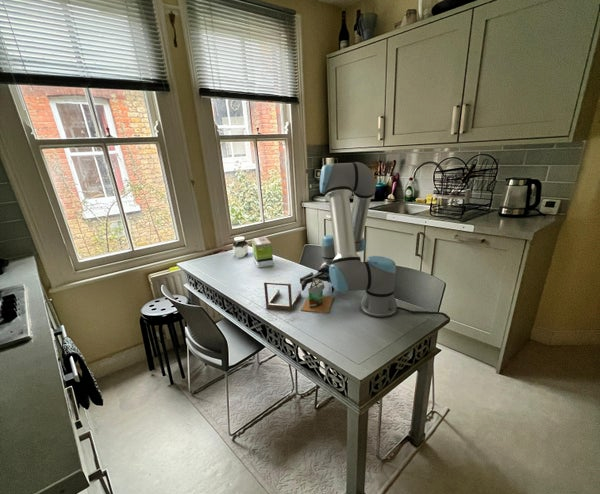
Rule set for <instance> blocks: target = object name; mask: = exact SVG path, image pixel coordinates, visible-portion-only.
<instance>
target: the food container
mask: <svg viewBox="0 0 600 494" xmlns="http://www.w3.org/2000/svg"><path fill="white" fill-rule="evenodd" d="M324 290H325V283H324V281H322V280H320V279H316V278H313V282H311V283H310V287H308V291H307V292H308V297H309V306H310V308H314V307H318V306H320V305H321V304H322V297H324V295H323V293H324Z"/></svg>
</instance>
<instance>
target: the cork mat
mask: <svg viewBox="0 0 600 494" xmlns="http://www.w3.org/2000/svg"><path fill="white" fill-rule="evenodd" d="M333 301H334V297H332V296H323V297H322V304H321V305H320V306H318V307H314V308H310V306H309V296H307V299H306V301H305V302H304V304H303V305H302V308H301V309H300V311H301V312H310V313H322V314H328V313H329V311H330V308H331V306H332V303H333Z"/></svg>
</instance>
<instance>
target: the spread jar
mask: <svg viewBox="0 0 600 494" xmlns="http://www.w3.org/2000/svg"><path fill="white" fill-rule="evenodd" d="M233 239H234V241H233V242H232V252H233V254H234V255H235V257H237V258H239V259H241V258H244V257H245V256H247V254H248V253H249V251H250V250H249V249H250V248H249V243H248V241H246V240H245V239H246V238H245V236H236V237H234V238H233Z"/></svg>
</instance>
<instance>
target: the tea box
mask: <svg viewBox="0 0 600 494" xmlns="http://www.w3.org/2000/svg"><path fill="white" fill-rule="evenodd" d="M251 246H252V254H253V260H254V263H255V264H256V266H257V268H264V267H271V266H274V256H273V246H272V242H271V241H270V239H268V237H267V236H263V237H256V238H251Z"/></svg>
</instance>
